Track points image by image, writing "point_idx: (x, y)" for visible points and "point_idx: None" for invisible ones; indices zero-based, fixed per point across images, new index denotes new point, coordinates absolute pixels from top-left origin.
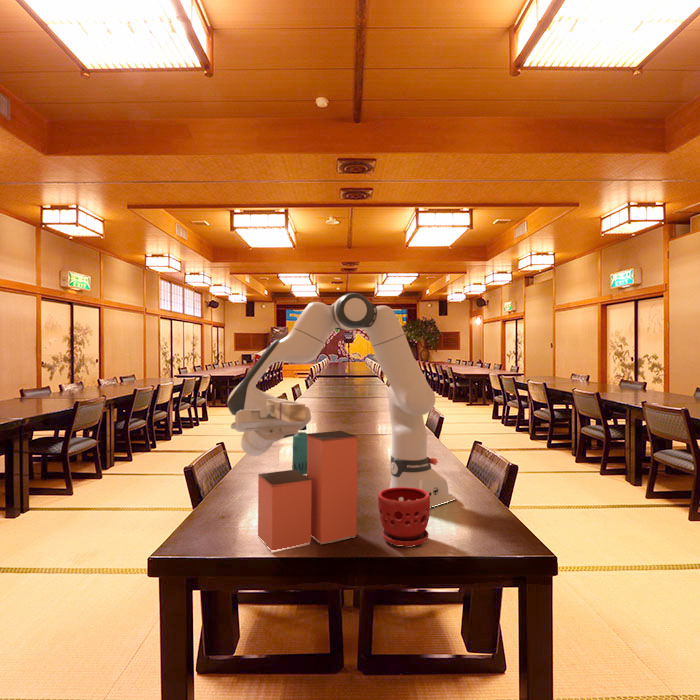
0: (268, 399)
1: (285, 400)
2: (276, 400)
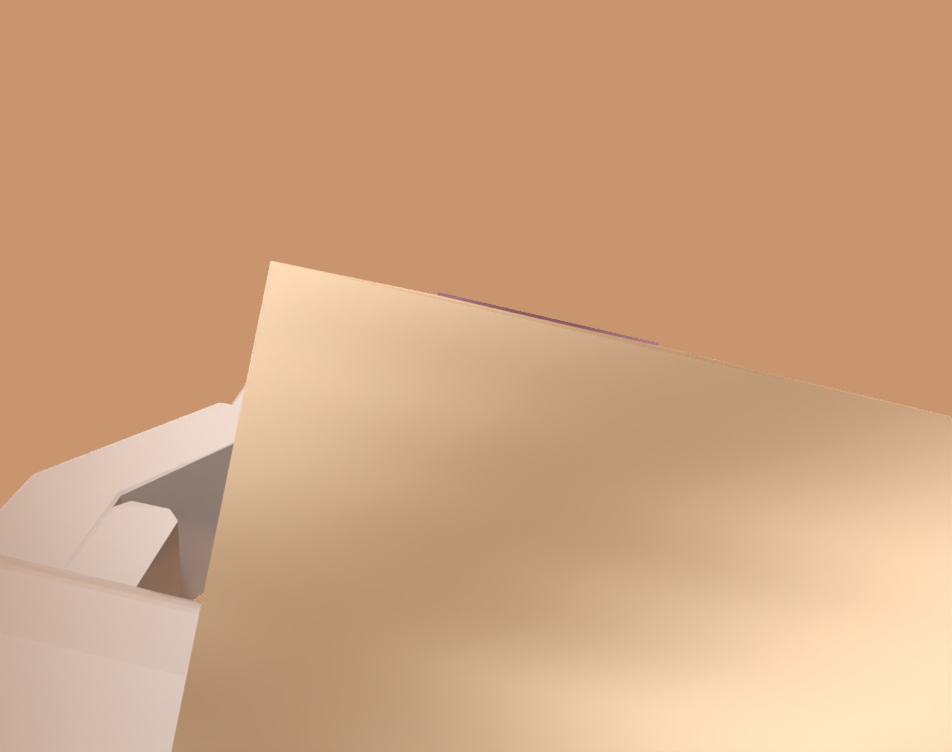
0: (930, 412)
1: (470, 303)
2: (655, 346)
